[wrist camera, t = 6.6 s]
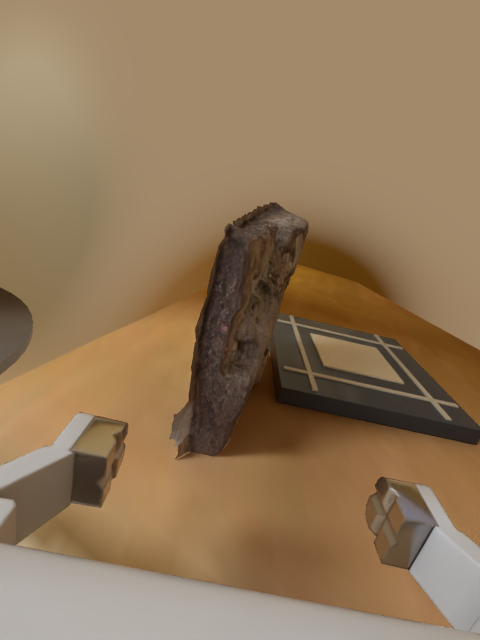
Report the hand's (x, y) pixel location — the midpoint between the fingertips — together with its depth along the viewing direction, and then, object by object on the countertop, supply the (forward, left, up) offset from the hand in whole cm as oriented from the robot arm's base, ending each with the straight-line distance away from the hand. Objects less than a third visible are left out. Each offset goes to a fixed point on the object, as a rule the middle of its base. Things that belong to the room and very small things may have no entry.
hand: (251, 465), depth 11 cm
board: (+13, +27, -8) cm, 31 cm away
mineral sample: (0, +15, -8) cm, 17 cm away
